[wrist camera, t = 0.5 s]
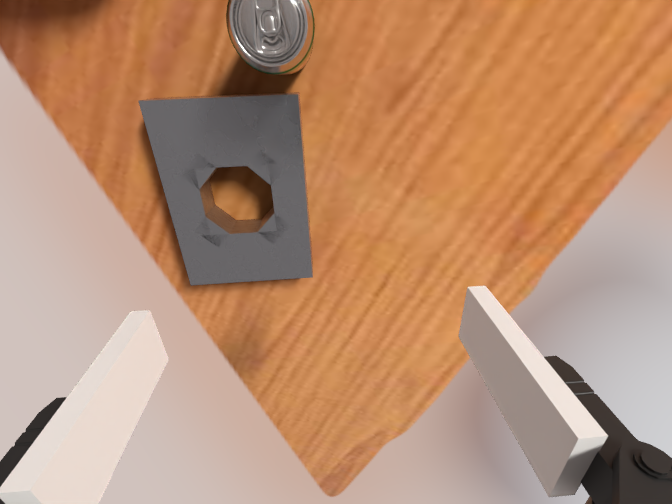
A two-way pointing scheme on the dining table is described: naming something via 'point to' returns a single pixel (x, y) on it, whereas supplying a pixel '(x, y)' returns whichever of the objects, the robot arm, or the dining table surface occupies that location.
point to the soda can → (272, 33)
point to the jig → (230, 151)
